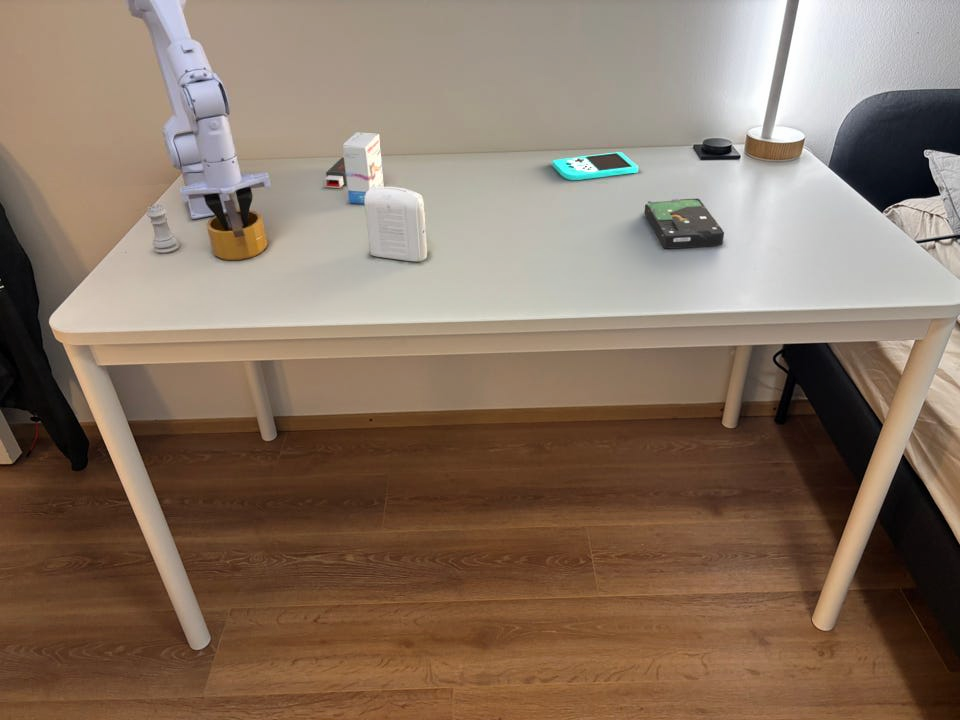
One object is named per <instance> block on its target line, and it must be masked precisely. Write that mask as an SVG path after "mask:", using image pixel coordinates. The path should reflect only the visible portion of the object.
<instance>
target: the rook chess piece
mask: <svg viewBox="0 0 960 720" xmlns="http://www.w3.org/2000/svg"><path fill="white" fill-rule="evenodd" d="M166 213H167V210H166V209H165V208H164V206H163V205H162V204H161V205H160V204H156V206H155V205H154V204H153V205H151V206H148V207H147V212H146V216H147V217H148V218H149V219H150V224H152V228H153V241H152V245H153V247H154V248H153V250H154V251H155V252H156V253H157V254H160V255H166V254H172V253H174V252H176V251H177V250H179V248H180V246H181V245H180V242H179V239H178V237H177V236H176V235H175V234H174V233H173V232H172V230H171V229H170V227H169V224H168V218H167V217H166Z"/></svg>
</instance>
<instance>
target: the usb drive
mask: <svg viewBox="0 0 960 720" xmlns="http://www.w3.org/2000/svg"><path fill="white" fill-rule="evenodd" d="M325 176H326V177H325V178H324V187H325V188H335V189H336V188H337V189H341V188H342V187H343V186H347V179H346V172H345V164H344V157H341V158H339V159H338V161H336V162H335V163H334V164H333V165H332V166H331V167H330V168H329V169H328V170H327V171H326V172H325Z"/></svg>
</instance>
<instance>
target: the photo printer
mask: <svg viewBox="0 0 960 720" xmlns="http://www.w3.org/2000/svg"><path fill="white" fill-rule="evenodd" d="M363 205H364V213H365V219H366V220H365V222H366V229H367V238H368V246H369V254H370V255H371V256H373V257H378V258H384V259H393V260H399V261H404V262H405V261H406V262H407V261H408V262H415V263H416V262H417V263H418V262H423V261H425V260H426V259H427V258H428V245H427V230H426V229H427V228H426V218H425V217H426V215H425V203H424V198H423V195H421V194H420V193H418V192H416V191H413V190H411V189H408V188H404V187H398V186H384V187H376V188H372V189H369V191H367V192H366V194H365V201H364V204H363Z"/></svg>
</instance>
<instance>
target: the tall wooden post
mask: <svg viewBox="0 0 960 720" xmlns="http://www.w3.org/2000/svg"><path fill="white" fill-rule="evenodd" d="M223 202H224V206H225V209H226V212H227V215H228V217H225V218H226V222H227V225H228V228H229V231H233V233H234V236H235V238H236V237H241V236H244V231H243V229H244V225H243V222H242V219H241V217H240V214H239V215H238V214H237V211H236V210H237V209H236V205H235V203H234V200H233V199H230V200H227V201H223Z"/></svg>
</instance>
